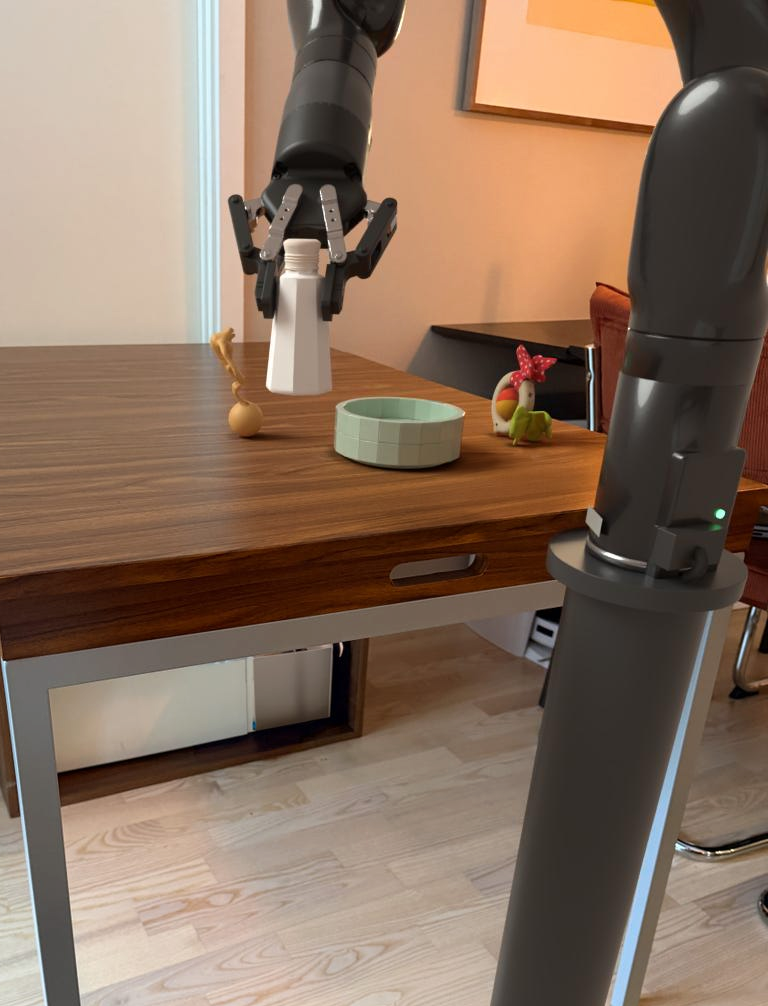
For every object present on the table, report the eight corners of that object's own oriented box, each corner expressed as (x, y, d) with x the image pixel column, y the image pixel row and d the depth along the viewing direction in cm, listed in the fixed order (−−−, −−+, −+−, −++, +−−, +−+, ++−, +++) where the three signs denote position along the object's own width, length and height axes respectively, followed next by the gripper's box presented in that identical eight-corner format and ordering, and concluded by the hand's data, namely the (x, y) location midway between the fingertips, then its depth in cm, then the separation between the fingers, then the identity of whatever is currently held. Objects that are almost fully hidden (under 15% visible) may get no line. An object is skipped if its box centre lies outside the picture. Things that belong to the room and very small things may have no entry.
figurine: (267, 444, 97) (268, 332, 92) (213, 445, 96) (212, 331, 91) (258, 428, 105) (259, 323, 99) (208, 428, 104) (207, 322, 98)
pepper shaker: (345, 392, 69) (353, 240, 64) (289, 398, 66) (292, 240, 61) (306, 381, 73) (310, 238, 68) (252, 387, 70) (252, 238, 65)
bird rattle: (475, 454, 104) (523, 439, 96) (464, 361, 103) (512, 338, 95) (517, 451, 106) (568, 436, 98) (507, 360, 106) (557, 337, 97)
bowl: (483, 466, 91) (489, 418, 89) (367, 476, 86) (371, 425, 84) (420, 437, 102) (424, 394, 100) (314, 444, 98) (316, 399, 95)
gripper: (231, 98, 68) (195, 274, 63) (413, 99, 66) (391, 280, 61) (245, 177, 75) (214, 341, 70) (410, 180, 73) (390, 349, 68)
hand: (297, 312), depth 65 cm, fingers closed on pepper shaker, 4 cm apart
